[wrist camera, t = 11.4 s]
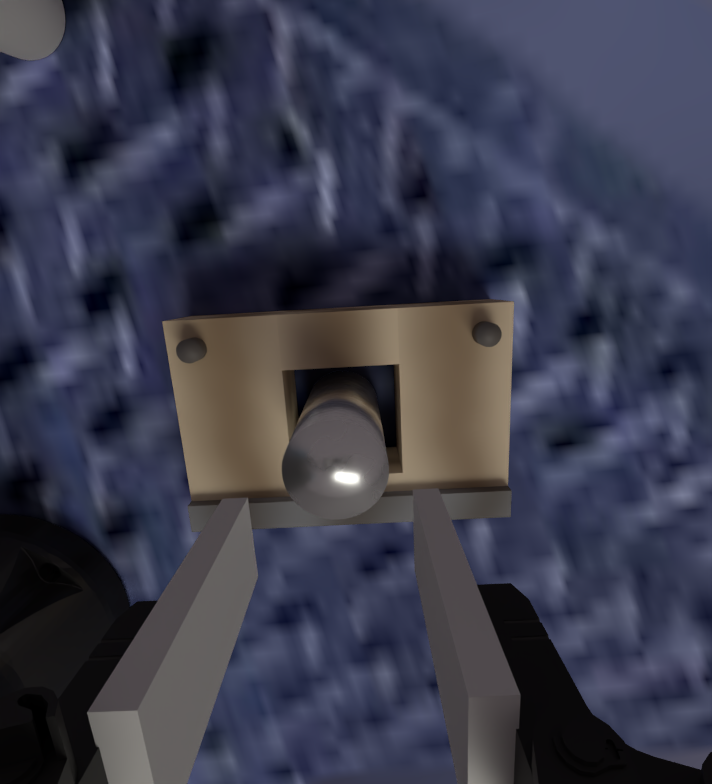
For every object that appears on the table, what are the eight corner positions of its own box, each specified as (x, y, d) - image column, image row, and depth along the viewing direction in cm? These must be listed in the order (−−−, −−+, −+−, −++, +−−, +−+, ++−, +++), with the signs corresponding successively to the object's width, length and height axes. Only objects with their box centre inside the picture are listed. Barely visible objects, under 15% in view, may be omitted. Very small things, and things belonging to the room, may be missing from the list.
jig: (218, 496, 29) (189, 539, 24) (191, 316, 26) (153, 323, 21) (486, 483, 28) (512, 523, 24) (490, 299, 26) (521, 302, 21)
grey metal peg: (311, 438, 28) (287, 522, 18) (305, 372, 27) (276, 423, 17) (379, 435, 28) (391, 516, 18) (376, 368, 27) (387, 417, 17)
